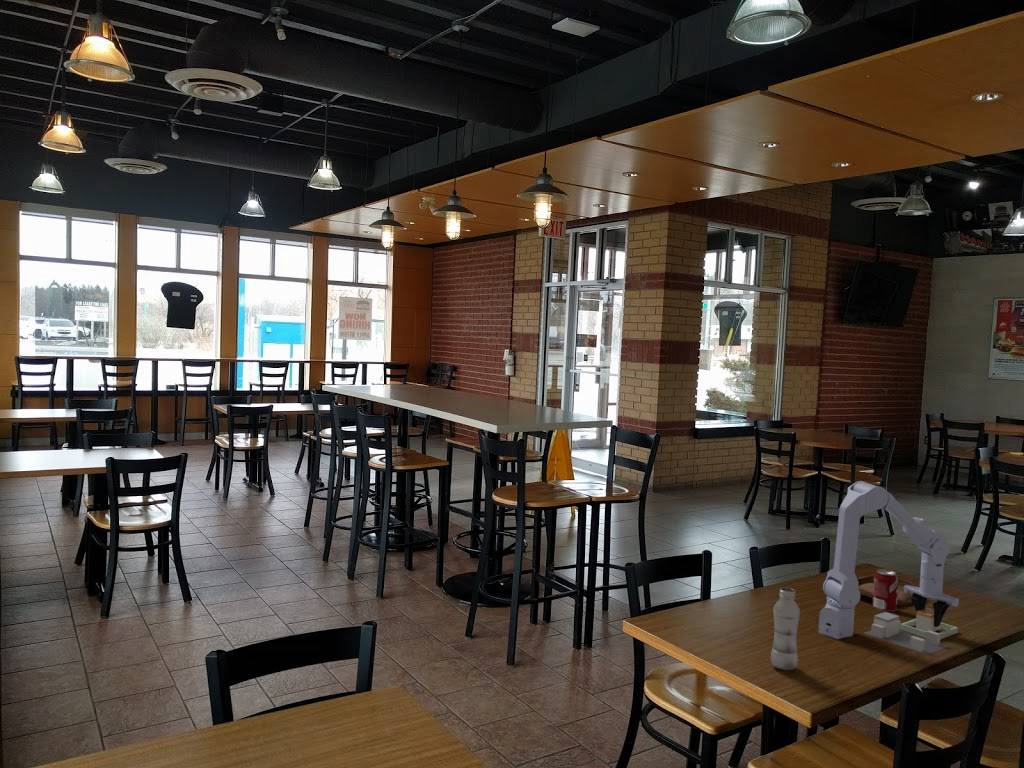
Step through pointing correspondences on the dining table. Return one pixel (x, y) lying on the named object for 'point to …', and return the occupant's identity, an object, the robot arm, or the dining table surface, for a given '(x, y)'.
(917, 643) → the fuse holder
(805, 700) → the dining table surface
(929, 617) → the block
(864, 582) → the basket
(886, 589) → the soda can
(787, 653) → the plastic bottle
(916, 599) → the robot arm
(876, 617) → the block
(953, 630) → the tray
